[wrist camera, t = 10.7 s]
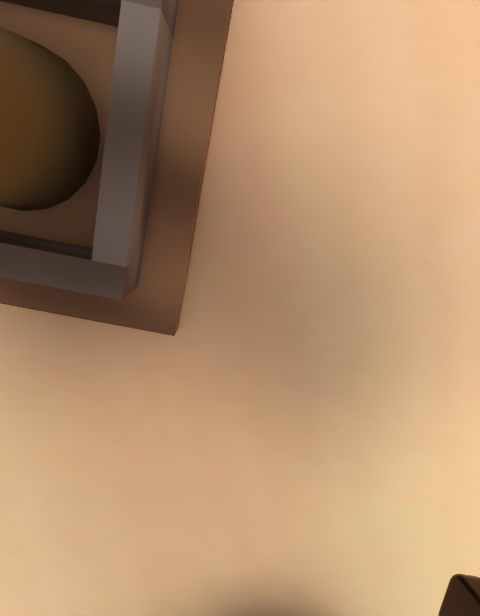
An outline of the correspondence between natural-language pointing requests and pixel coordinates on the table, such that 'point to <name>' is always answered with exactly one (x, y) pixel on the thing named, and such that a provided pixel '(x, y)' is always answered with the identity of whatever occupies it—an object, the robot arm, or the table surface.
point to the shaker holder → (122, 160)
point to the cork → (42, 126)
